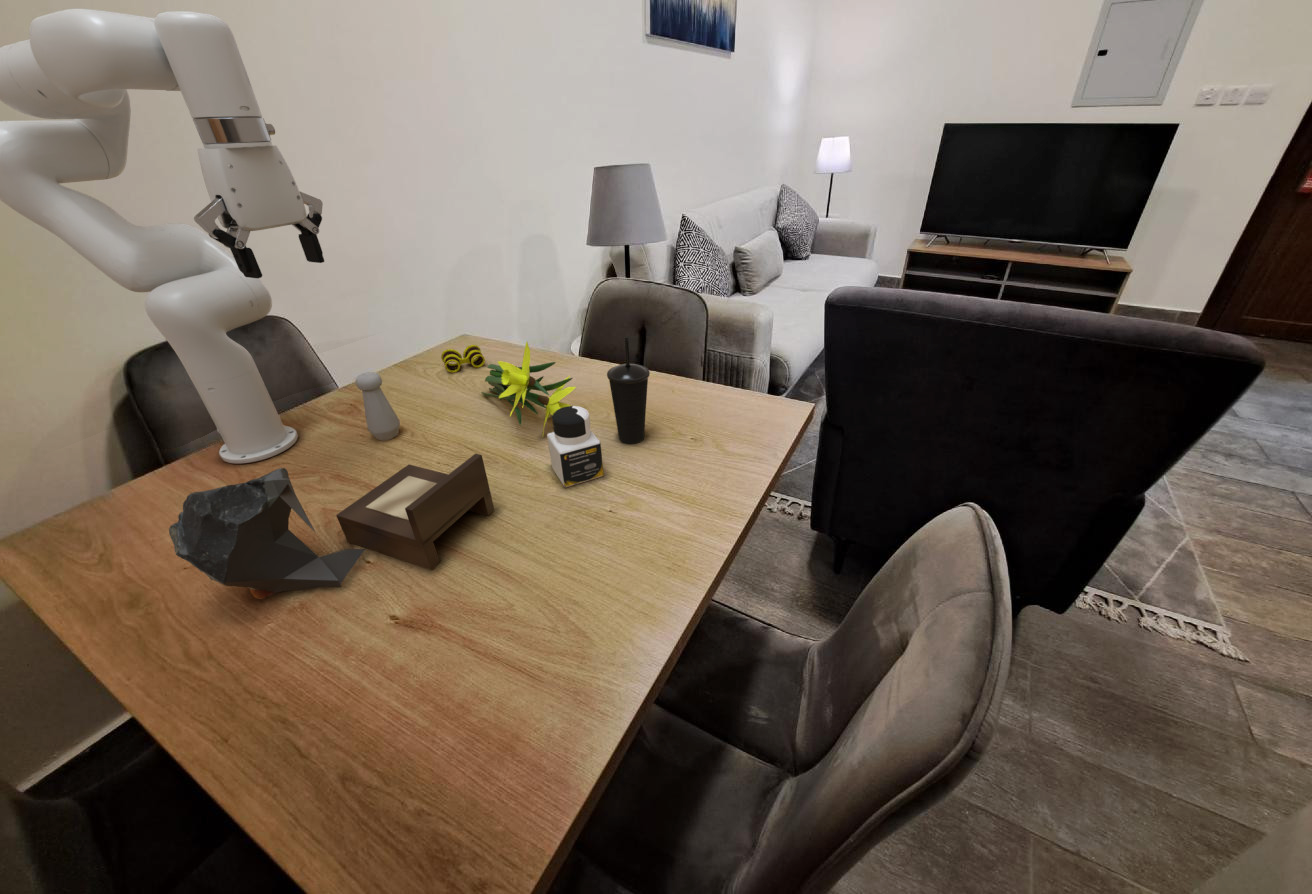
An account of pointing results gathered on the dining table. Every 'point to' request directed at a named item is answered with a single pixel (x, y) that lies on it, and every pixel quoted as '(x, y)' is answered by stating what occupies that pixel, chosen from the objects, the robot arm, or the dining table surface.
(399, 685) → the dining table surface
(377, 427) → the salt shaker
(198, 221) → the robot arm
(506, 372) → the daffodil flowers
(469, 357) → the opera glasses
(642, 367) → the drinking cup
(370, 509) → the dark wooden box
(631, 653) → the dining table surface
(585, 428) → the medicine bottle
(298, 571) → the dark grey irregular lump
